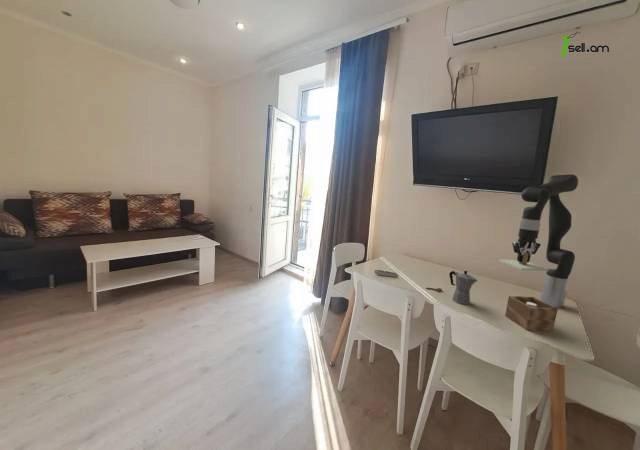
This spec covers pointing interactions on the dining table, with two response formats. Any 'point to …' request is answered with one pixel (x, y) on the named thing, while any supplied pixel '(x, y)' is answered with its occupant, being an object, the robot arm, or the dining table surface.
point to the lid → (524, 264)
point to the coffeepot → (462, 287)
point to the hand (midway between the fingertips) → (522, 261)
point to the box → (531, 313)
